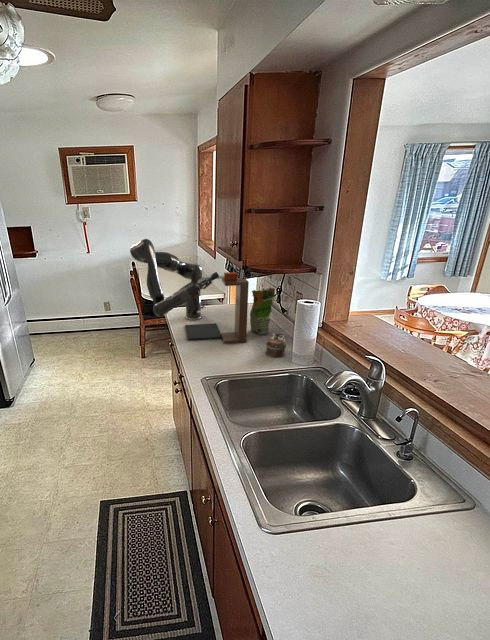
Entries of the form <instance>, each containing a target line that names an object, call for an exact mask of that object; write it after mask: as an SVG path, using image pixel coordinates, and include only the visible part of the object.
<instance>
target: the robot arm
mask: <svg viewBox="0 0 490 640" xmlns="http://www.w3.org/2000/svg"><path fill="white" fill-rule="evenodd" d="M129 249H130V250H129V252H130V255H131V257H132V258H133V259H134V260H135V261H137V262H140V263H144V264H147V273H146V287H147V290H148V294H149V297H150V298H151V300H152V303H153V307H152V312H153V313H154V315H155V316H157V317H165V316H167V315H168V314H169V312H171V311H172V310H174V309H176V308H178V307H180V306H182V305H184V304H185V318H186V320H189V321H196V320H200V319H202V309H203V308H205V305H204V304H203V303H202V297H201V295H202V293H201V291H202V290H206V289H207V288H208V287H209V286H210V285H211V284H212V283H213V282H214V281H215V280H217V279H216V278H218V277H219V275H220V274H218V271H214V272H213V273H211V274H210V275H206V276H211V277H209V278H207V279H205V278H204V277H205V276H203V269H202V267H201V265H200V264H198V263H197V264H196V263H189V262H184V261H181V260H180V259H179V257H177V255H175V254H173V253H170V252H167V251H156V250H155V246H154V244H153V242H152V241H151V240H150V239H149V238H144V239H141V240H140V241H137V242H136V243H134V244H132V245H131V246H130V248H129ZM158 268H160V269H162V270H164V271H166V272H170V273H174V274H177V275H179V276H181V277H182V278H184V279H187V280H190V282H188V283H187V284H185V285H183V286H182V287H180V288H179V289H178V290H176V291H175V292H174V293H171V294H170V295H169V296H168V297H165V295H164V290H163V286H162V284H161V281H160V276H159V271H158Z"/></svg>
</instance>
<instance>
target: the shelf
mask: <svg viewBox="0 0 490 640" xmlns="http://www.w3.org/2000/svg"><path fill="white" fill-rule="evenodd" d="M238 277H239V276H237V280H235V281H225V280H224V278H223V279H221V282H222V284H223V285H224V287H235V300H234V301H235V302H234V303H235V306H234V307H235V308H234V310H235V311H234V331H232V332H229V331H227V332H220V335H221V339H222V341H223V344H243V343H247V329H248V309H249V307H248V305H249V304H248V303H249V284H250V282H249V280H248V279H247V278H246V277H245V279H241V278H238Z"/></svg>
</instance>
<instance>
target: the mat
mask: <svg viewBox="0 0 490 640" xmlns="http://www.w3.org/2000/svg"><path fill="white" fill-rule="evenodd" d="M185 331H186V336H187V341H202V340H219V339H220V340H221V339H222V337H221V332H220V330H219V327H218V325H217V323H216V322H215V323H196V324H195V323H194V324H185Z"/></svg>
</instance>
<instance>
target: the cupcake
mask: <svg viewBox="0 0 490 640" xmlns="http://www.w3.org/2000/svg"><path fill="white" fill-rule="evenodd" d="M286 341H287V340H286V339H285V334H283V333H276V332H274V333H272V335H271V336H270V337H269V338H268V339H267V342H266V343H265V348H266V354H267V356H269V357H272V358H281V357H283V356H284V354H285V350H286V348H287V342H286Z"/></svg>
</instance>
